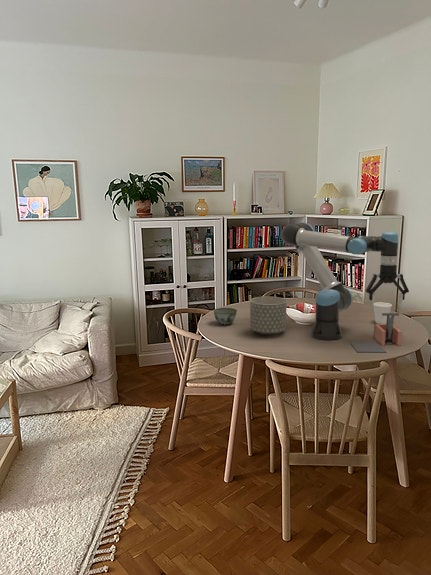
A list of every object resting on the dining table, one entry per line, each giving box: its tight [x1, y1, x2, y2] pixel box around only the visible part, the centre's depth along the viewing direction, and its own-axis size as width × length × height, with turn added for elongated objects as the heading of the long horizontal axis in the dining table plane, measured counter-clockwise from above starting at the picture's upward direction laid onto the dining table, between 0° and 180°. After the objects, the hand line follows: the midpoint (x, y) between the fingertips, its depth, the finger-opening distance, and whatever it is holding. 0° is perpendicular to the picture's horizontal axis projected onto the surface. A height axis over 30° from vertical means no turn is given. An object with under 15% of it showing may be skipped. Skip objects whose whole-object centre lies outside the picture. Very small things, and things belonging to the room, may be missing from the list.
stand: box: [382, 312, 400, 345], centre depth 204 cm, size 8×4×15 cm, turn 86°
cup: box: [373, 302, 393, 324], centre depth 238 cm, size 10×10×11 cm
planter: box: [249, 295, 288, 336], centre depth 223 cm, size 19×19×18 cm
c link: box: [373, 323, 403, 346], centre depth 208 cm, size 9×13×7 cm
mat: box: [350, 341, 387, 354], centre depth 199 cm, size 13×13×1 cm
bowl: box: [213, 307, 238, 326], centre depth 244 cm, size 14×13×8 cm
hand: (386, 306), depth 209 cm, fingers open, 13 cm apart
